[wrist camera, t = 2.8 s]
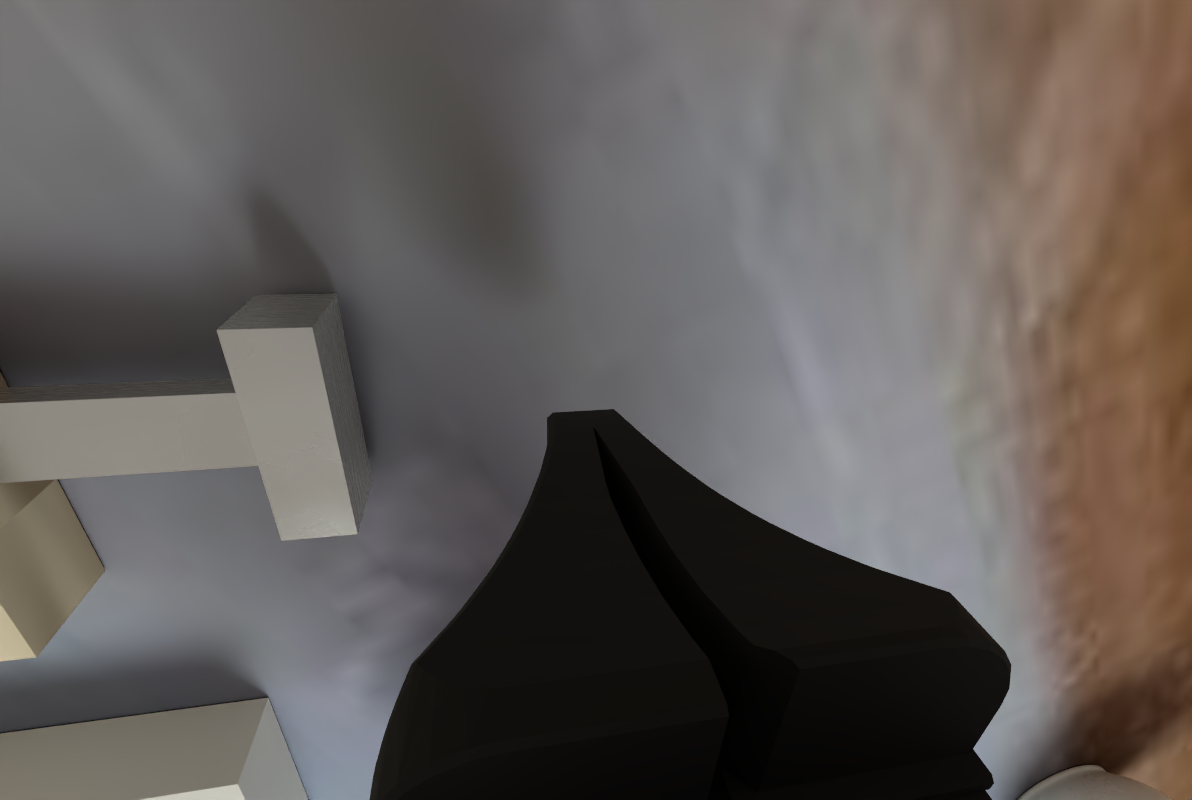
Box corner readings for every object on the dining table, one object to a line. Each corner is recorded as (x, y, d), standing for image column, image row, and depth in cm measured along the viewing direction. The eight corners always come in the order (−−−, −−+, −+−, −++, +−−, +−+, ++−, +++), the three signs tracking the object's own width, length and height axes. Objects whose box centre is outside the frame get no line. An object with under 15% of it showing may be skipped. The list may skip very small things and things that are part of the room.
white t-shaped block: (336, 293, 12) (312, 327, 10) (372, 481, 14) (357, 534, 13) (-87, 301, 11) (-197, 341, 9) (31, 506, 13) (-39, 569, 11)
